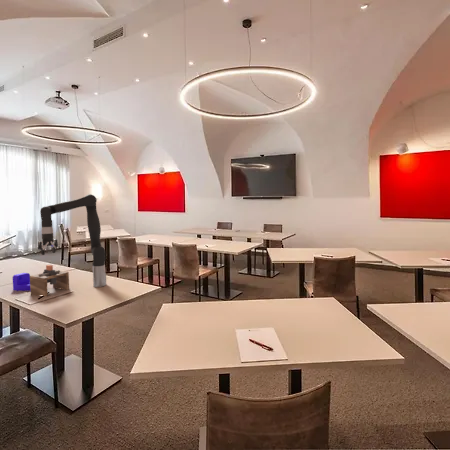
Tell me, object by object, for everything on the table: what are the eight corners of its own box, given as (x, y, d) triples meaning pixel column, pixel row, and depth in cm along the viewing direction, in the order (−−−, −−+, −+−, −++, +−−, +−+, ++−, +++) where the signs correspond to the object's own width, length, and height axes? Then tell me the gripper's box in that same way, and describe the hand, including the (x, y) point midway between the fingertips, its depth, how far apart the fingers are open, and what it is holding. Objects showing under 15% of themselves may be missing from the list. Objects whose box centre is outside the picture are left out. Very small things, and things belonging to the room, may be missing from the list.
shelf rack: (55, 287, 237) (54, 268, 236) (69, 289, 231) (68, 270, 229) (30, 294, 219) (29, 274, 217) (45, 297, 212) (44, 276, 211)
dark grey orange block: (48, 281, 228) (47, 264, 227) (56, 283, 224) (55, 265, 223) (43, 283, 224) (42, 265, 223) (51, 284, 221) (50, 266, 219)
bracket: (13, 290, 229) (12, 275, 228) (26, 286, 240) (25, 272, 239) (30, 292, 224) (29, 277, 223) (43, 288, 234) (42, 273, 233)
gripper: (52, 231, 229) (53, 252, 230) (34, 233, 216) (36, 255, 217) (59, 232, 226) (60, 252, 227) (41, 234, 213) (42, 255, 214)
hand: (48, 253), depth 222 cm, fingers open, 8 cm apart
